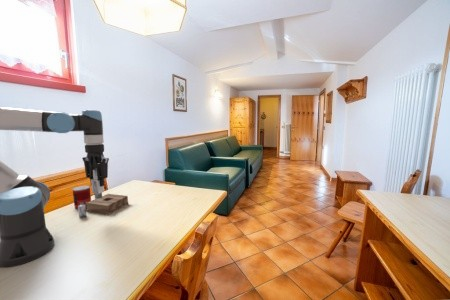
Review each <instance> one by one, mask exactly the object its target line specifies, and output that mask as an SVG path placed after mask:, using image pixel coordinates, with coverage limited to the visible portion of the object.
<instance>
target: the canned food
mask: <svg viewBox="0 0 450 300" xmlns="http://www.w3.org/2000/svg"><path fill="white" fill-rule="evenodd" d="M91 195H92V194H91V187H90V185H80V186H77V187H73V188H72V196H73V198H72V199H73V205H74V208H75V209H77V210H78V206H79V205H82V204H85V207H86V208H87V204H86V203H87V202H90V201H92V196H91Z"/></svg>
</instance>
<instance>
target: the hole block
mask: <svg viewBox="0 0 450 300" xmlns="http://www.w3.org/2000/svg"><path fill="white" fill-rule="evenodd" d="M128 198H129V197H128V195H123V194H113V193H107V194H104V195H102V198H99V199H95V198H94V199H93V200H92V199H91V201H90V202H87V203H86V204H87V207H86V213H87V212H88V213H95V214H101V215H105V216H107V215H111V214H113V213H115V212H116V211H118V210H120V209H121V208H123V207H125V206H127V205H129V200H128Z"/></svg>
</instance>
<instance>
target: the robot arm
mask: <svg viewBox="0 0 450 300" xmlns="http://www.w3.org/2000/svg"><path fill="white" fill-rule="evenodd" d="M102 116H103V115H102V112H101V111H100V110H91V109H84V110H81V114H73V113H66V112H63V111H48V110H47V111H44V110H38V109H36V110H35V109H24V108H13V107H2V106H0V131H19V132H21V131H22V132H41V133H44V132H45V133H57V134H68V133H70V132H83V142H84V151H85V153H86V156H84V157H82V162H83V164H84V170H85V177H86V178H88V179H89V180H90V185H91V193H92V194H94V181H93V169H96V170H97V175H98V179H97V188H98V194H100V193H102V194H103V193H104V192H105V188H104V187H105V179H107V178H108V169H109V164H108V163H109V160H110V159H109V157H105V155H104V152H105V144H104V140H105V139H104V130H103V129H104V126H103V117H102ZM50 197H51V191H50V187H48V185H47V184H45V183H44V182H42V181H37V180H35V179H34V178H32V177H30V175H28V174H27V175H21V174H19V173H17V172H16V171H15V170H13V169H12V168H11V167H9V166H8V165H6V164H5V163H4V162H3V161H1V160H0V268H8V267H15V266H19V265H23V264H26V263H30V262H32V261H34V260H36V259H39V258H40V257H43V256H44V255H45V254H46V255H47V253H48V252H50V251H51V250H53V248H54V246H55V239H54V237H53V235H52V233H51V232H50V230H49V229H48V228H47V226H46V218H45V217H46V216H45V207H46V205H47V204H48V202H49V201H50Z"/></svg>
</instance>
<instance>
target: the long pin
mask: <svg viewBox="0 0 450 300" xmlns="http://www.w3.org/2000/svg"><path fill="white" fill-rule="evenodd" d="M97 179H98V175H97V170H96V169H93V181H94V193H93V194H94V199H99V198H102V196H103V192H102V193H100V194H98V188H97Z"/></svg>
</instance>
